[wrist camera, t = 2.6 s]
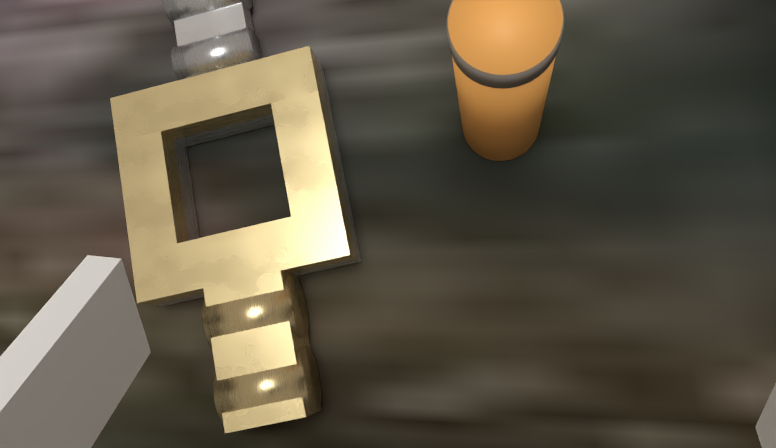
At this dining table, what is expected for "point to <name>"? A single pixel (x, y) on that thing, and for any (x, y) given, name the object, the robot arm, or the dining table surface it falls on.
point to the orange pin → (503, 70)
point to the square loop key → (246, 245)
